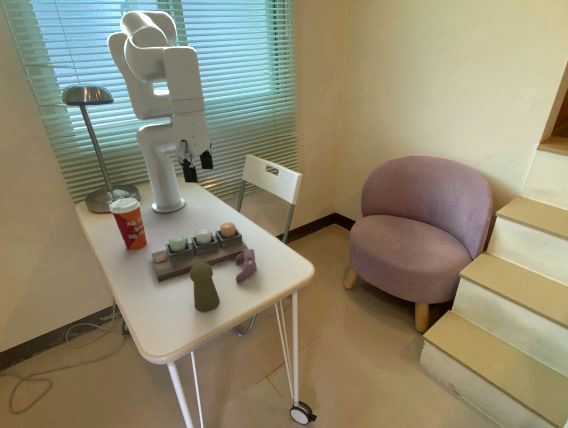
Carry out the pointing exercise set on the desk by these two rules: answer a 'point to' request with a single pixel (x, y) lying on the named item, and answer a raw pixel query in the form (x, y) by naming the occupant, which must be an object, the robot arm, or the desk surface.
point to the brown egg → (227, 230)
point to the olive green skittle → (204, 288)
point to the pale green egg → (177, 244)
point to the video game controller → (246, 264)
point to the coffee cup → (129, 222)
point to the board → (197, 255)
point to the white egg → (203, 236)
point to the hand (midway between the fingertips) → (200, 175)
